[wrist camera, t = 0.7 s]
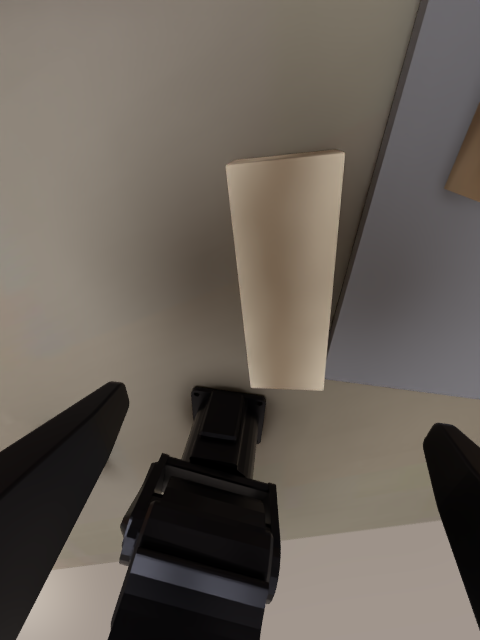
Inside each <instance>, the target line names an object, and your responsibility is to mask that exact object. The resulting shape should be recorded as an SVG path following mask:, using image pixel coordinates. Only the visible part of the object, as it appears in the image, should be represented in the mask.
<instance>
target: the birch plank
mask: <svg viewBox="0 0 480 640" xmlns="http://www.w3.org/2000/svg"><path fill="white" fill-rule="evenodd" d="M344 159H345V153H344V152H342V151H339V150H337V149H334V150H325V151H315V152H306V153H296V154H287V155H278V156H268V157H259V158H249V159H240V160H234V161H232V162H230V163H229V164H227V165H226V174H227V183H228V192H229V201H230V209H231V218H232V227H233V236H234V244H235V253H236V262H237V271H238V280H239V288H240V297H241V306H242V315H243V324H244V332H245V341H246V350H247V359H248V368H249V376H250V385H251V388H269V389H295V390H322V391H323V390H324V379H325V368H326V357H327V346H328V335H329V324H330V313H331V302H332V291H333V280H334V269H335V258H336V247H337V236H338V225H339V214H340V203H341V192H342V181H343V170H344Z"/></svg>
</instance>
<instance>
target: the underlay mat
mask: <svg viewBox="0 0 480 640" xmlns="http://www.w3.org/2000/svg"><path fill="white" fill-rule="evenodd" d="M479 102H480V0H421V2H420V5H419V9H418V13H417V16H416V20H415V24H414V27H413V31H412V35H411V38H410V42H409V46H408V49H407V53H406V57H405V60H404V64H403V68H402V71H401V75H400V79H399V82H398V86H397V89H396V93H395V97H394V100H393V104H392V108H391V111H390V115H389V119H388V122H387V126H386V130H385V133H384V137H383V141H382V144H381V148H380V152H379V155H378V159H377V163H376V166H375V170H374V174H373V177H372V181H371V184H370V188H369V192H368V195H367V199H366V203H365V206H364V210H363V214H362V217H361V221H360V225H359V228H358V232H357V236H356V239H355V243H354V247H353V250H352V254H351V258H350V261H349V265H348V268H347V272H346V276H345V279H344V283H343V287H342V290H341V294H340V298H339V301H338V305H337V309H336V312H335V316H334V320H333V323H332V327H331V331H330V334H329V338H328V346H327V357H326V368H325V379H329V380H336V381H344V382H351V383H359V384H366V385H374V386H381V387H389V388H397V389H404V390H412V391H419V392H427V393H434V394H442V395H449V396H457V397H465V398H472V399H480V202H478V201H475V200H473V199H470V198H467V197H465V196H462V195H459V194H457V193H454V192H451V191H449V190H446V189H444V187H445V185H446V182H447V180H448V177H449V175H450V172H451V170H452V168H453V165H454V163H455V160H456V158H457V156H458V153H459V151H460V148H461V146H462V143H463V141H464V139H465V136H466V134H467V131H468V129H469V126H470V124H471V122H472V119H473V117H474V114H475V112H476V109H477V107H478V105H479Z"/></svg>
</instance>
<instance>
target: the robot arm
mask: <svg viewBox="0 0 480 640" xmlns="http://www.w3.org/2000/svg"><path fill="white" fill-rule="evenodd" d="M191 397H192V408H193V418H194V423H193V426H192V429H191V432H190V435H189V438H188V441H187V444H186V447H185V450H184V453H183V456H182V459H177V458H173V457H170V456H169V455H168V454H164V453H162V455H161V457H160V459H159V461H158V462H155V463H152V464H151V466H150V469H149V471H148V473H147V476H146V478H145V480H144V483H143V485H142V487H141V489H140V490H139V492H138V494H137V496H136V497H135V499H134V501H133V502H132V504H131V506H130V508H129V509H128V511H127V513H126V514H125V516H124V518H123V520H122V523H121V526H120V529H121V532H122V535H123V542H122V552H121V556H120V561H119V563H120V564H122V565H126V566H129V567H128V570H127V573H126V576H125V580H124V582H123V586H122V589H121V592H120V595H119V598H118V601H117V604H116V607H115V610H114V614H113V617H112V621H111V632H110V634H109V637H108V640H260V633H261V626H262V620H263V615H264V608H265V604H269V603H270V602H271V601H272V599H273V597H274V594H275V590H276V587H277V582H278V576H279V569H280V554H281V552H280V550H281V545H280V530H279V518H278V505H277V492H276V484H272V483H268V484H267V483H264V482H260V481H256V480H253V470H254V461H255V452H256V444H259V443H260V442H261V435H262V428H263V420H264V413H265V405H266V399H265V398H264V397H262V396H257V395H250V394H243V393H236V392H229V391H222V390H214V389H207V388H200V387H195V388H193V390H192V392H191ZM128 408H129V398H128V394H127V391H126V387H125V385H124V384H123V383H122V382H114V381H111V382H108V383H107V384H105V385H103V386H102V387H100V388H99V389H97V390H96V391H94V392H93V393H91V394H89V395H88V396H86V397H85V398H83V399H82V400H80V401H79V402H77V403H75V404H74V405H72V406H71V407H69V408H68V409H66V410H65V411H63V412H61V413H60V414H58V415H57V416H55V417H54V418H52V419H51V420H49V421H47V422H46V423H44V424H43V425H41V426H40V427H38V428H37V429H35V430H33V431H32V432H30V433H29V434H27V435H26V436H24V437H23V438H21V439H19V440H18V441H16V442H15V443H13V444H12V445H10V446H9V447H7V448H6V449H4V450H2V451H1V452H0V640H16V638H17V636H18V634H19V633H20V631H21V629H22V626H23V625H24V623H25V621H26V619H27V617H28V615H29V613H30V611H31V609H32V607H33V605H34V603H35V601H36V599H37V597H38V595H39V593H40V591H41V590H42V588H43V585H44V583H45V582H46V580H47V578H48V575H49V574H50V572H51V570H52V568H53V566H54V564H55V562H56V560H57V558H58V556H59V554H60V552H61V550H62V548H63V546H64V544H65V543H66V541H67V539H68V537H69V535H70V533H71V531H72V529H73V527H74V525H75V523H76V521H77V519H78V517H79V515H80V513H81V511H82V509H83V507H84V505H85V503H86V501H87V499H88V497H89V496H90V494H91V492H92V490H93V488H94V486H95V484H96V482H97V480H98V478H99V476H100V474H101V472H102V470H103V468H104V466H105V464H106V462H107V460H108V458H109V456H110V454H111V451H112V449H113V446H114V444H115V441H116V439H117V436H118V434H119V431H120V428H121V426H122V423H123V421H124V418H125V416H126V413H127V410H128ZM423 450H424V454H425V458H426V463H427V467H428V471H429V475H430V479H431V484H432V488H433V492H434V496H435V500H436V504H437V507H438V511H439V514H440V517H441V520H442V522H443V526H444V528H445V531H446V534H447V537H448V540H449V543H450V546H451V549H452V552H453V554H454V557H455V560H456V563H457V566H458V569H459V572H460V575H461V578H462V580H463V583H464V586H465V589H466V592H467V595H468V598H469V601H470V603H471V606H472V609H473V612H474V615H475V618H476V621H477V624H478V627H479V630H480V447H479V446H477V445H476V444H475V443H474V442H473V441H472V440H470V439H469V438H468V437H467V436H466V435H465V434H463V433H462V432H461V431H460V430H459V429H458V428H456V427H455V426H453V425H450V424H443V423H436V424H434V425H433V426H432V428H431V429H430V431H429V433H428V434H427V436H426V437H425V439H424V442H423ZM162 492H164V494H163V495H162V494H161V493H162Z"/></svg>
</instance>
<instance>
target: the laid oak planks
mask: <svg viewBox="0 0 480 640" xmlns="http://www.w3.org/2000/svg"><path fill="white" fill-rule="evenodd" d="M444 189H446V190H449V191H451V192H454V193H457V194H459V195H462V196H465V197H467V198H470V199H473V200H475V201H478V202H480V102H479V105H478V107H477V109H476V112H475V114H474V117H473V119H472V122H471V124H470V126H469V129H468V131H467V134H466V136H465V139H464V141H463V143H462V146H461V148H460V151H459V153H458V156H457V158H456V160H455V163H454V165H453V168H452V170H451V172H450V175H449V177H448V180H447V182H446V185H445V187H444Z"/></svg>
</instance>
